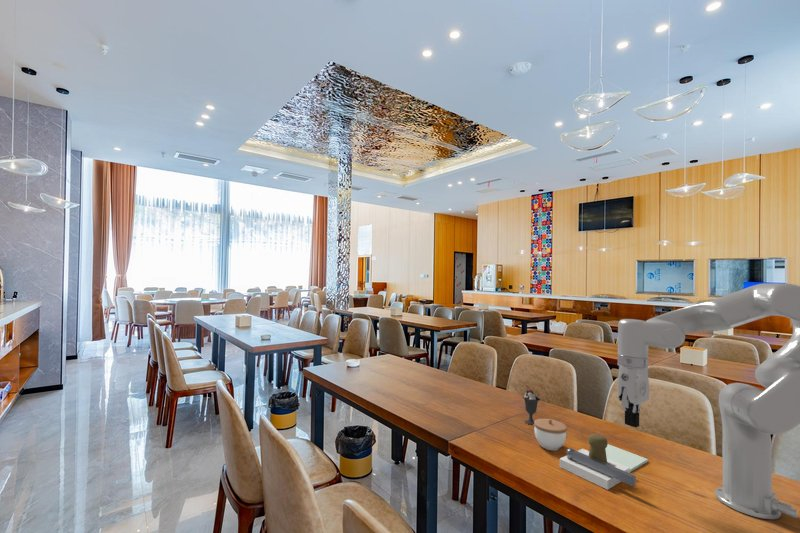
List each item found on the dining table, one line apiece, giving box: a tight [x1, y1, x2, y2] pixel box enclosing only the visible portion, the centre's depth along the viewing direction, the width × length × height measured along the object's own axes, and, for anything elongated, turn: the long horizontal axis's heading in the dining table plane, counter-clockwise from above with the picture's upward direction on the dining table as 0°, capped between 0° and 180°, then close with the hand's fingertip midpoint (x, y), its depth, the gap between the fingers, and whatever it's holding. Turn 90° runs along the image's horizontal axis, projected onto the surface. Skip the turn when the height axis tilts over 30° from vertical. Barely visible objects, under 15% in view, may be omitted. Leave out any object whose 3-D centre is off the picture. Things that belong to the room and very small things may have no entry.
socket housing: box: [558, 448, 631, 491], centre depth 110 cm, size 14×14×3 cm
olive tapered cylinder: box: [587, 433, 609, 464], centre depth 110 cm, size 6×6×11 cm
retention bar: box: [566, 447, 637, 487], centre depth 106 cm, size 19×2×2 cm, turn 35°
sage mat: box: [605, 443, 649, 473], centre depth 119 cm, size 13×13×1 cm
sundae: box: [522, 385, 541, 425], centre depth 148 cm, size 7×7×15 cm
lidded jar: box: [533, 418, 568, 451], centre depth 127 cm, size 11×11×9 cm
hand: (631, 425), depth 104 cm, fingers closed
